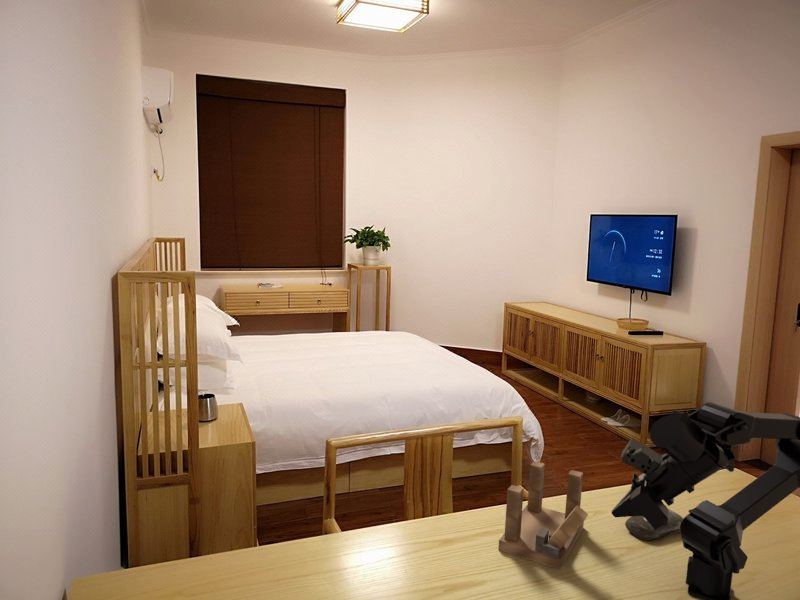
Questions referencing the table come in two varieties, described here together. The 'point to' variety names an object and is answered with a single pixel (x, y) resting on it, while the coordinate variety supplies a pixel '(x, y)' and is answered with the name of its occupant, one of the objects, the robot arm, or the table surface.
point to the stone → (647, 532)
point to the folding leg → (568, 527)
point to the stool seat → (539, 520)
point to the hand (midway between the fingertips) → (613, 514)
